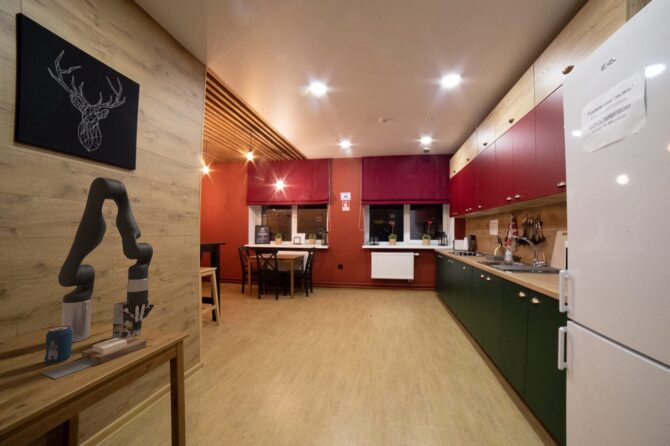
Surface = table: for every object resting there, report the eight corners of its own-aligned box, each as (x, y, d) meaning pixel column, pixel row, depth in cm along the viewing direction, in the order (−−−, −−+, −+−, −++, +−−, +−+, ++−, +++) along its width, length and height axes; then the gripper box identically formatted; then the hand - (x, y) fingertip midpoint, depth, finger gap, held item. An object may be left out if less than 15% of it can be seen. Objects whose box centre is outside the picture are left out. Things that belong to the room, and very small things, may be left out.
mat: (41, 373, 90) (41, 372, 90) (84, 358, 100) (84, 358, 100) (55, 379, 86) (55, 378, 86) (97, 363, 97) (97, 362, 97)
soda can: (69, 354, 104) (71, 323, 104) (72, 359, 99) (73, 327, 100) (43, 360, 98) (45, 328, 99) (45, 366, 94) (46, 333, 94)
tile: (92, 350, 102) (92, 345, 102) (116, 342, 109) (116, 337, 109) (103, 353, 99) (103, 348, 99) (126, 345, 106) (126, 340, 106)
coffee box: (123, 341, 116) (124, 304, 117) (111, 340, 118) (113, 303, 118) (142, 333, 125) (143, 299, 126) (131, 332, 127) (132, 298, 127)
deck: (81, 357, 101) (81, 351, 101) (127, 342, 116) (127, 336, 116) (100, 364, 96) (100, 357, 96) (146, 347, 111) (146, 341, 111)
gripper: (148, 285, 121) (147, 323, 120) (115, 291, 109) (113, 333, 108) (159, 286, 118) (158, 325, 117) (126, 293, 106) (124, 336, 105)
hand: (136, 329), depth 113 cm, fingers closed
